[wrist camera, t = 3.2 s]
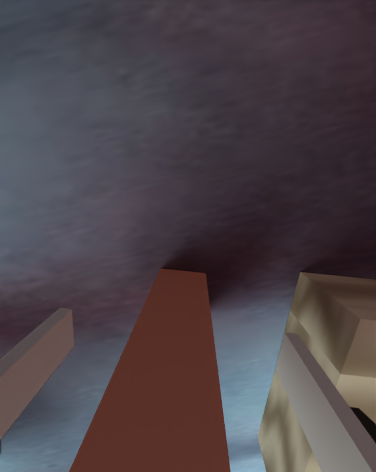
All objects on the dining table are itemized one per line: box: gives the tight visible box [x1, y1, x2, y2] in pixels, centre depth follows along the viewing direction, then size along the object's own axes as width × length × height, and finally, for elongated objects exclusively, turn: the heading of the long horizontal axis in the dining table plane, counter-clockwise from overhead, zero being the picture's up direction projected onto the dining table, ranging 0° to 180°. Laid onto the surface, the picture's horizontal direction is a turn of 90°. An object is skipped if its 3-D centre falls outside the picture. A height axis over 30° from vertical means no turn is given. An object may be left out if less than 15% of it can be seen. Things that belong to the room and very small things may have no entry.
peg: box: [69, 268, 230, 472], centre depth 10 cm, size 4×4×14 cm
